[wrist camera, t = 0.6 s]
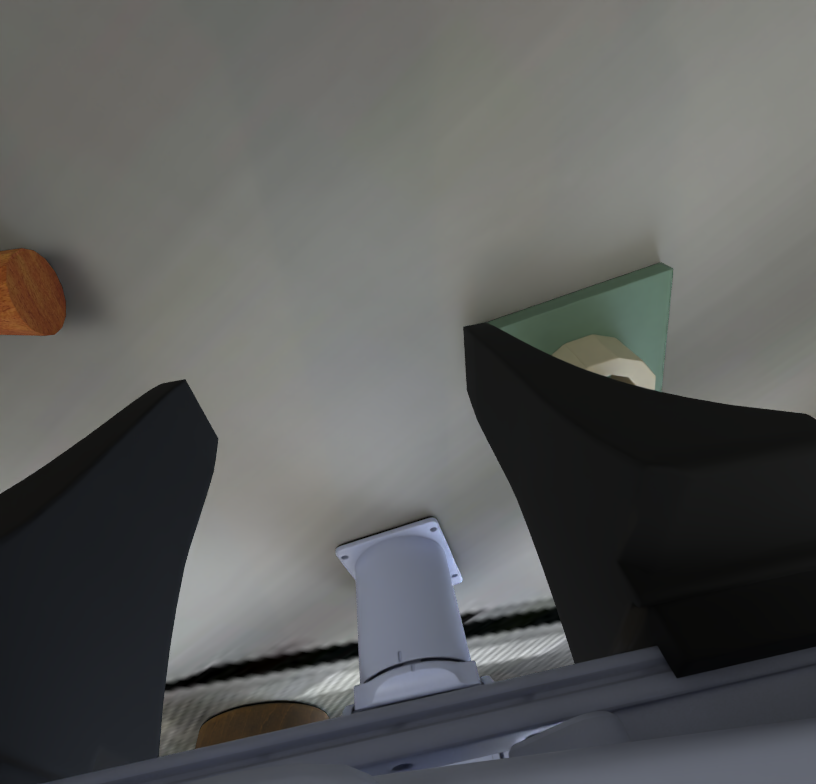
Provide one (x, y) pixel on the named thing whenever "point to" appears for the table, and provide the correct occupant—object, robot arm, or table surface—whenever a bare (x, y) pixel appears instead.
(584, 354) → the tape roll
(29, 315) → the maraca
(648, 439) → the robot arm
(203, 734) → the wooden container
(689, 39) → the table surface
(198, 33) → the table surface
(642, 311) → the tape stand
